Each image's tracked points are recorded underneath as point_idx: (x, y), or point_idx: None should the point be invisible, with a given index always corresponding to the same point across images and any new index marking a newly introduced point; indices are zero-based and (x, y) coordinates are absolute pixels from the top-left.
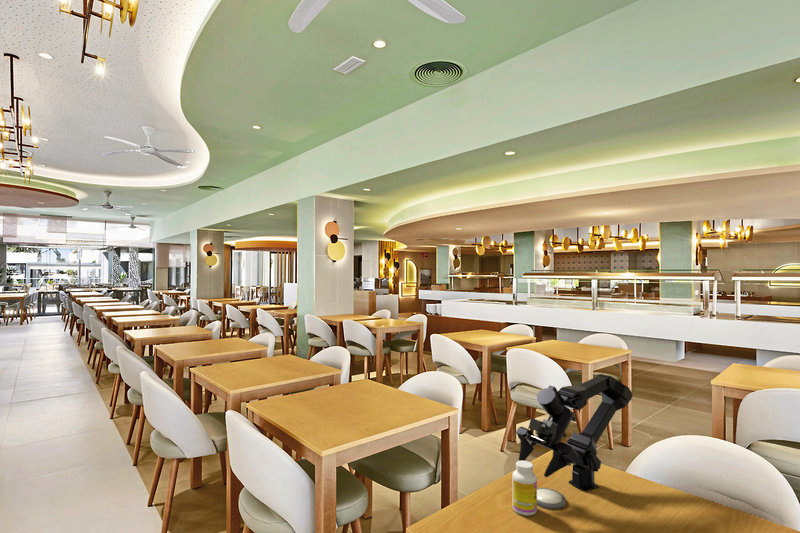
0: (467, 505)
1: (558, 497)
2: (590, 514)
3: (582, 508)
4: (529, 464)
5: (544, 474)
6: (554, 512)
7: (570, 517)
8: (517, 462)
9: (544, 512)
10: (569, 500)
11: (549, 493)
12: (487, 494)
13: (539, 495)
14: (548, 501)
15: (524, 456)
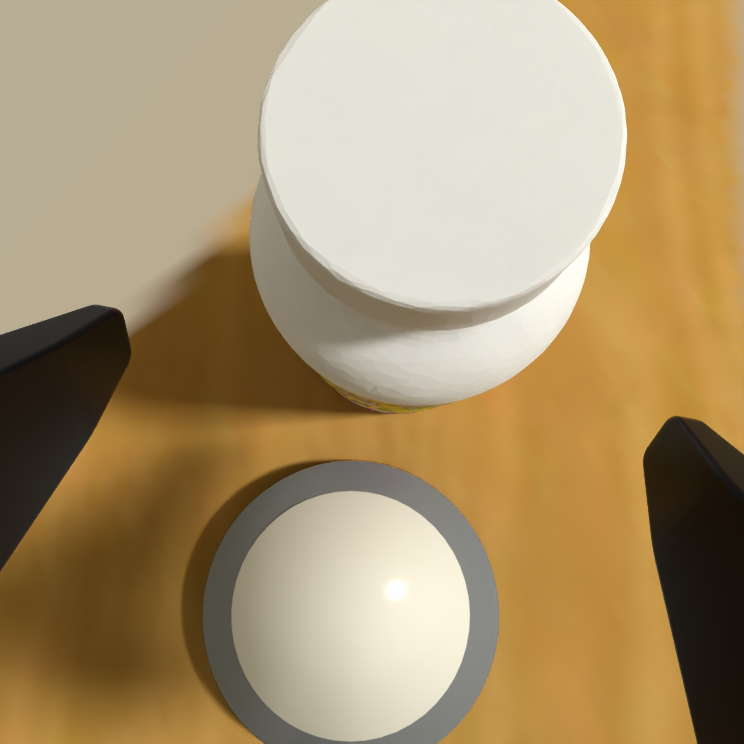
0: (702, 81)
1: (271, 665)
2: (20, 652)
3: (96, 693)
4: (352, 188)
5: (105, 310)
6: (228, 466)
7: (115, 492)
8: (584, 70)
9: (280, 410)
10: (220, 737)
11: (357, 670)
12: (713, 309)
13: (400, 566)
14: (299, 531)
15: (721, 605)
